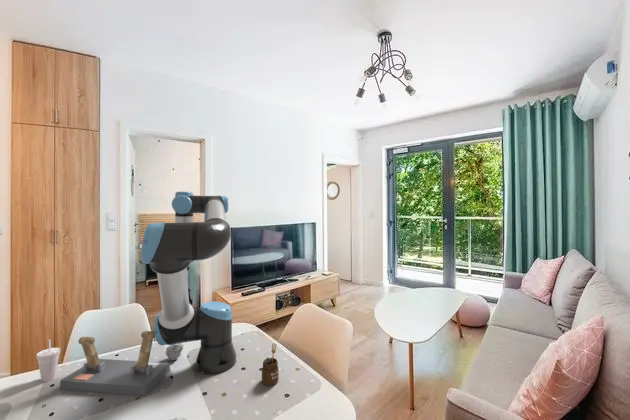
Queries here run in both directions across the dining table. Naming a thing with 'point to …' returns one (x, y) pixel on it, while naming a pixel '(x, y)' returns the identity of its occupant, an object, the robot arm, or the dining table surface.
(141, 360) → the lever
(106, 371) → the switch unit
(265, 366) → the utensil holder
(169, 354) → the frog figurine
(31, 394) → the dining table surface
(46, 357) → the smoothie
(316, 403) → the dining table surface
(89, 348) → the lever
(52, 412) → the dining table surface
